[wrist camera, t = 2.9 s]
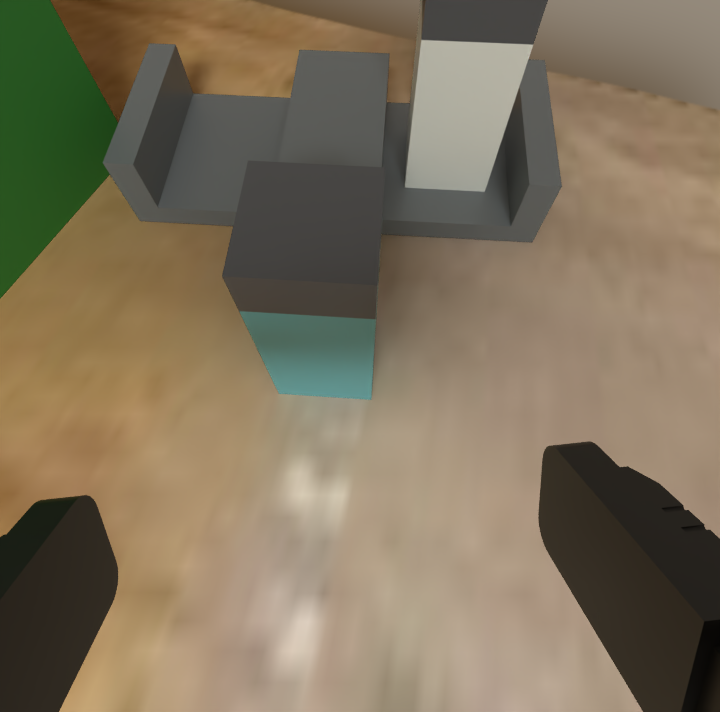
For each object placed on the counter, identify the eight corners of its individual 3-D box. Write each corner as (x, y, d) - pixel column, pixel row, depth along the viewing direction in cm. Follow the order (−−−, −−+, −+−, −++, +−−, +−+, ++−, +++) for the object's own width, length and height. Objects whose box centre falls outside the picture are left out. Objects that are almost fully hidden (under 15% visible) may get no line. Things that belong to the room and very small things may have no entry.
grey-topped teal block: (376, 318, 24) (385, 167, 15) (370, 399, 22) (377, 285, 13) (291, 312, 24) (248, 160, 15) (279, 393, 22) (222, 276, 13)
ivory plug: (481, 134, 28) (541, -79, 18) (484, 191, 26) (551, -13, 17) (407, 130, 28) (429, -83, 19) (404, 187, 26) (427, -18, 17)
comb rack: (521, 125, 30) (544, 60, 26) (532, 242, 26) (561, 186, 22) (176, 109, 30) (149, 43, 26) (140, 220, 27) (102, 163, 23)
